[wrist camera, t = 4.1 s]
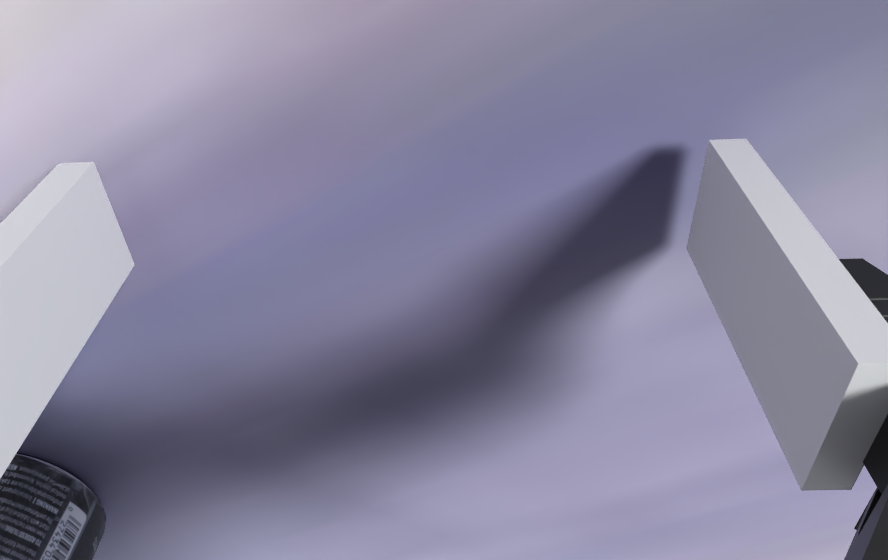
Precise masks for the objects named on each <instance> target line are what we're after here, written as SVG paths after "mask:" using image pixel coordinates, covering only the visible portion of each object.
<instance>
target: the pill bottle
mask: <svg viewBox="0 0 888 560" xmlns="http://www.w3.org/2000/svg"><path fill="white" fill-rule="evenodd" d="M105 522H106V516H105V512H104V509H103V507H102V505H101V503H100V501H99V500H98V498H97V497H96V495H95V494H94V493H93V492H92V491H91V489H89V488H88V487H87V486H86V485H85V484H84V483H83V482H81V481H80V480H79V479H77V478H76V477H74V476H73V475H71V474H70V473H68V472H66V471H64V470H63V469H61V468H59V467H57V466H54V465H52V464H50V463H47V462H44V461H42V460H39V459H36V458H33V457H29V456H25V455H20V454H16V455H15V456H14V458H13V459H12V461H11V463H10V464H9V466H8V467H7V469H6V471H5V472H4V474H3V475H2V477H1V478H0V560H92V559H93V556H94V554H95V552H96V549H97V547H98V544H99V542H100V540H101V538H102V536H103V533H104V529H105Z"/></svg>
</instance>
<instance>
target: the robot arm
mask: <svg viewBox="0 0 888 560" xmlns="http://www.w3.org/2000/svg"><path fill="white" fill-rule="evenodd" d="M687 250H688V253H689V255H690V257H691V259H692V261H693V263H694V265H695V267H696V269H697V271H698V274H699V276H700V278H701V280H702V282H703V284H704V286H705V288H706V290H707V293H708V295H709V297H710V299H711V301H712V303H713V305H714V307H715V309H716V312H717V314H718V316H719V318H720V320H721V322H722V324H723V326H724V328H725V330H726V333H727V335H728V337H729V339H730V341H731V343H732V345H733V347H734V349H735V352H736V354H737V356H738V358H739V360H740V362H741V364H742V366H743V368H744V371H745V373H746V375H747V377H748V379H749V381H750V383H751V385H752V387H753V389H754V392H755V394H756V396H757V398H758V400H759V402H760V404H761V406H762V408H763V411H764V413H765V415H766V417H767V419H768V421H769V423H770V425H771V427H772V430H773V432H774V434H775V436H776V438H777V440H778V442H779V444H780V446H781V449H782V451H783V453H784V455H785V457H786V459H787V461H788V463H789V465H790V467H791V470H792V472H793V474H794V476H795V478H796V480H797V482H798V484H799V486H800V489H801V490H851V489H852V487H853V485H854V483H855V482H856V480H857V478H858V476H859V474H860V472H861V470H862V468H863V466H864V465H865V467H866V468H867V470H868V472H869V474H870V475H871V477H872V479H873V480H874V482H875V484H876V486H877V489H876V490H875V492H874V494H873V496H872V498H871V499H870V501H869V503H868V505H867V506H866V508H865V510H864V512H863V514H862V515H861V517H860V519H859V521H858V523H857V524H856V526H855V528H854V529H856V530H857V532H856V534H855V536H854V538H853V541H852V543H851V545H850V548H849V550H848V552H847V555H846V557H845V559H844V560H888V275H887V274H885V273H884V272H882V271H881V270H879V269H878V268H876V267H875V266H873V265H872V264H870V263H868V262H867V261H865V260H864V259H838V258H837V256H836V255H835V254H834V253H833V251H832V250H831V249H830V247H829V246H828V245H827V243H826V242H825V241H824V240H823V238H822V237H821V236H820V234H819V233H818V232H817V230H816V229H815V228H814V226H813V225H812V224H811V223H810V221H809V220H808V219H807V217H806V216H805V215H804V213H803V212H802V211H801V210H800V208H799V207H798V206H797V204H796V203H795V202H794V200H793V199H792V198H791V197H790V195H789V194H788V193H787V191H786V190H785V189H784V187H783V186H782V185H781V183H780V182H779V181H778V180H777V178H776V177H775V176H774V174H773V173H772V172H771V170H770V169H769V168H768V167H767V165H766V164H765V163H764V161H763V160H762V159H761V157H760V156H759V155H758V153H757V152H756V151H755V150H754V148H753V147H752V146H751V144H750V143H749V142H748V140H747V139H725V140H709V143H708V148H707V152H706V157H705V162H704V167H703V172H702V176H701V181H700V186H699V191H698V196H697V200H696V205H695V210H694V215H693V220H692V224H691V229H690V234H689V239H688V244H687ZM133 267H134V262H133V260H132V257H131V255H130V252H129V250H128V247H127V244H126V242H125V239H124V237H123V234H122V232H121V229H120V227H119V224H118V222H117V219H116V217H115V214H114V212H113V209H112V207H111V204H110V202H109V199H108V196H107V194H106V191H105V189H104V186H103V184H102V181H101V179H100V176H99V174H98V171H97V169H96V166H95V164H94V162H78V163H59V164H58V165H57V166H56V167H55V168H54V169H53V170H52V171H51V172H50V173H49V174H48V175H47V176H46V177H45V178H44V179H43V180H42V181H41V182H40V183H39V184H38V185H37V187H36V188H35V189H34V190H33V191H32V192H31V193H30V194H29V195H28V196H27V197H26V198H25V199H24V200H23V201H22V202H21V203H20V204H19V205H18V206H17V207H16V208H15V209H14V210H13V211H12V212H11V213H10V214H9V215H8V216H7V217H6V218H5V219H4V221H3V222H2V223H1V224H0V478H1V477H2V475H3V474H4V472H5V471H6V469H7V467H8V466H9V464H10V463H11V461H12V459H13V458H14V456H15V455H16V453H17V451H18V450H19V448H20V447H21V445H22V443H23V442H24V440H25V439H26V437H27V435H28V434H29V432H30V431H31V429H32V428H33V426H34V424H35V423H36V421H37V420H38V418H39V416H40V415H41V413H42V412H43V410H44V408H45V407H46V405H47V404H48V402H49V400H50V399H51V397H52V396H53V394H54V392H55V391H56V389H57V388H58V386H59V385H60V383H61V381H62V380H63V378H64V377H65V375H66V373H67V372H68V370H69V369H70V367H71V365H72V364H73V362H74V361H75V359H76V357H77V356H78V354H79V353H80V351H81V349H82V348H83V346H84V345H85V343H86V342H87V340H88V338H89V337H90V335H91V334H92V332H93V330H94V329H95V327H96V326H97V324H98V322H99V321H100V319H101V318H102V316H103V314H104V313H105V311H106V310H107V308H108V306H109V305H110V303H111V302H112V300H113V299H114V297H115V295H116V294H117V292H118V291H119V289H120V287H121V286H122V284H123V283H124V281H125V279H126V278H127V276H128V275H129V273H130V271H131V270H132V268H133Z"/></svg>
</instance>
